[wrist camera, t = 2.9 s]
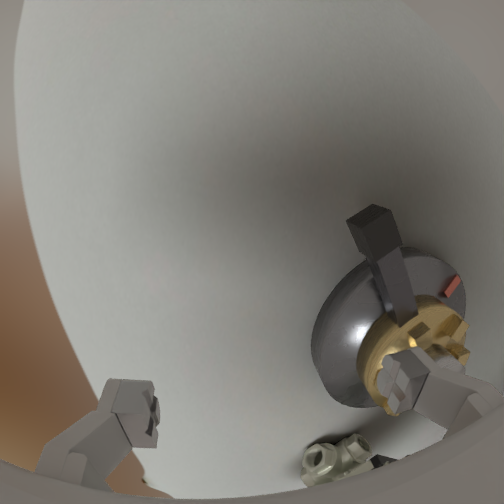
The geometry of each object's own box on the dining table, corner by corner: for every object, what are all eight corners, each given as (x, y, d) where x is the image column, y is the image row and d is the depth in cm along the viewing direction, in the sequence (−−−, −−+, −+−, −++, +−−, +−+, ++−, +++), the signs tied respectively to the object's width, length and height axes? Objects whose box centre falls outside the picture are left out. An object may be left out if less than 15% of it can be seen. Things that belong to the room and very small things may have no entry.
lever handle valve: (450, 346, 24) (473, 368, 20) (371, 403, 24) (389, 432, 20) (410, 177, 18) (450, 184, 14) (291, 250, 18) (312, 275, 14)
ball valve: (364, 399, 28) (433, 521, 12) (395, 416, 31) (455, 512, 14) (258, 473, 31) (279, 582, 14) (299, 483, 34) (326, 575, 17)
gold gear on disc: (465, 303, 26) (520, 343, 17) (372, 404, 29) (406, 463, 20) (398, 210, 22) (482, 241, 13) (274, 351, 24) (301, 436, 15)
